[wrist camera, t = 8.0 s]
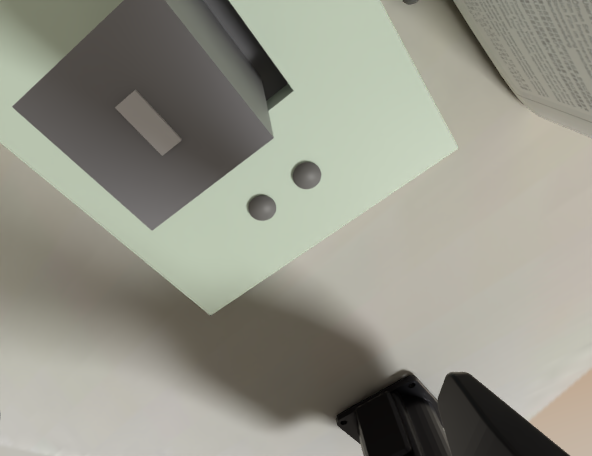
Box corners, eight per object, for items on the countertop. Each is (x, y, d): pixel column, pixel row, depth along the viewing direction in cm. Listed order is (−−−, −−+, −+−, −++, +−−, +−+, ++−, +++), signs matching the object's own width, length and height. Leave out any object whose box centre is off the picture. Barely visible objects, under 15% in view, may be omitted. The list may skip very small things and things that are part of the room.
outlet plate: (475, 108, 18) (500, 121, 17) (213, 290, 22) (210, 317, 20) (202, -463, 10) (193, -561, 8) (-150, -25, 14) (-210, -28, 12)
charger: (261, 77, 16) (274, 139, 10) (188, 137, 17) (151, 233, 10) (192, -15, 15) (145, -23, 8) (114, 56, 16) (9, 108, 9)
